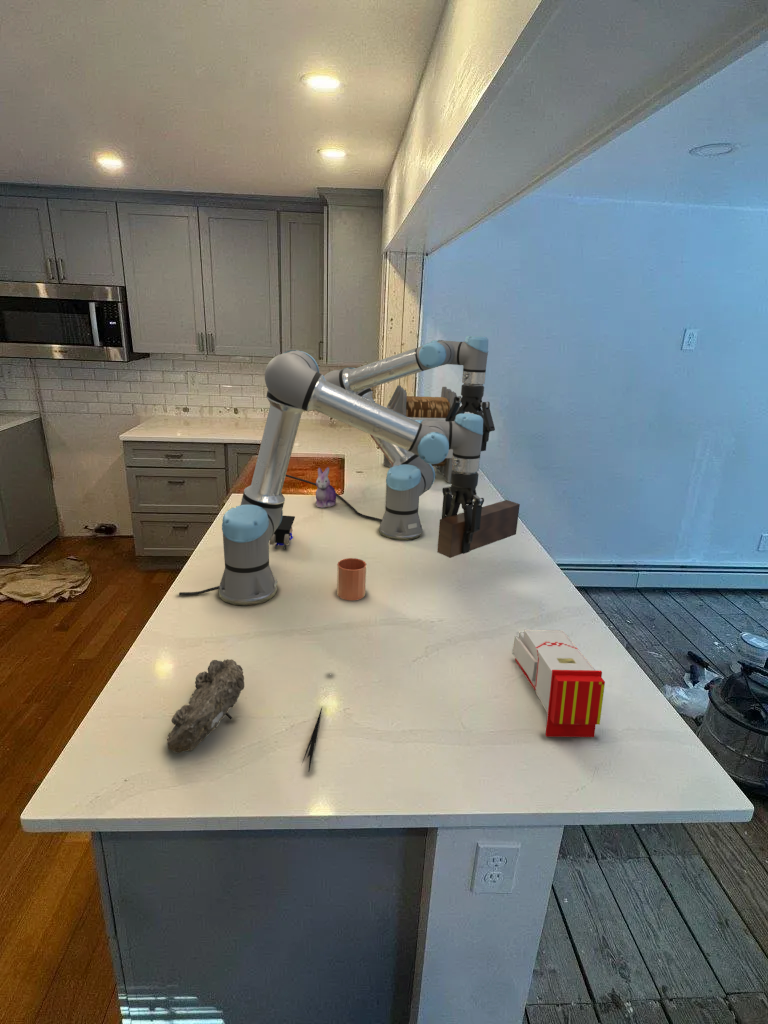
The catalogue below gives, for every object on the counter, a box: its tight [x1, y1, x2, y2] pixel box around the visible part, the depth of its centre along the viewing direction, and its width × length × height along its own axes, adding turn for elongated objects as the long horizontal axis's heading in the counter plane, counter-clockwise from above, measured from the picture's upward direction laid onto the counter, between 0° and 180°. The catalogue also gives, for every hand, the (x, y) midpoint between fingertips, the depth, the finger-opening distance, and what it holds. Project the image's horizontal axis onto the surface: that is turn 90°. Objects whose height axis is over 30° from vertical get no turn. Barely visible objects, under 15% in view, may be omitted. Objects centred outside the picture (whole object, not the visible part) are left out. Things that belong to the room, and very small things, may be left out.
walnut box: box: [436, 499, 521, 559], centre depth 167 cm, size 30×5×10 cm, turn 131°
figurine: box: [315, 466, 337, 509], centre depth 223 cm, size 9×10×15 cm
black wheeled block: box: [269, 515, 296, 550], centre depth 186 cm, size 7×8×15 cm
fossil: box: [166, 658, 245, 754], centre depth 106 cm, size 22×10×15 cm
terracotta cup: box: [336, 557, 368, 601], centre depth 155 cm, size 8×8×9 cm
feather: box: [301, 673, 332, 771], centre depth 108 cm, size 2×28×2 cm
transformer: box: [383, 384, 461, 484], centre depth 268 cm, size 34×33×41 cm
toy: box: [511, 629, 606, 738], centre depth 118 cm, size 12×13×30 cm
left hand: (457, 549), depth 163 cm, fingers closed on walnut box, 5 cm apart
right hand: (467, 446), depth 196 cm, fingers open, 13 cm apart
